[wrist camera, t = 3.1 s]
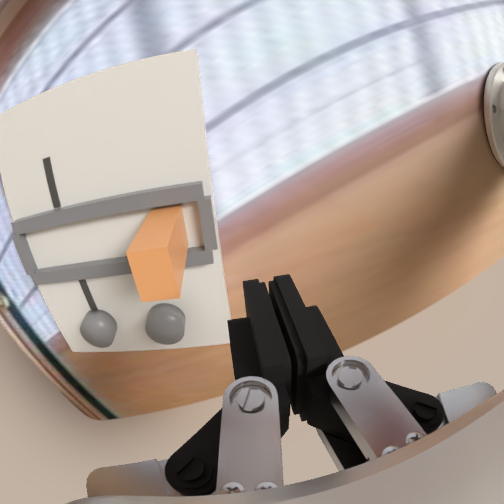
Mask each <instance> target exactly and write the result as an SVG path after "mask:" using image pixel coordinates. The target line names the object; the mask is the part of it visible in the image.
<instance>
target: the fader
mask: <svg viewBox="0 0 504 504" xmlns="http://www.w3.org/2000/svg"><path fill="white" fill-rule="evenodd" d="M188 245H189V243H188V238H187V233H186V227H185V222H184V216H183V210H182V205H181V204H180V205H174V206H167V207H161V208H154V209H151V210H150V212H149V213H148V215H147V217H146V218H145V220H144V222H143V223H142V225H141V227H140V229H139V230H138V232H137V234H136V235H135V237H134V239H133V241H132V242H131V244H130V246H129V248H128V250H127V251H126V255H127V258H128V261H129V265H130V268H131V271H132V274H133V277H134V280H135V283H136V286H137V289H138V292H139V295H140V298H141V301H142V302H150V301H160V300H170V299H179V298H180V296H181V289H182V282H183V276H184V270H185V263H186V257H187V251H188Z"/></svg>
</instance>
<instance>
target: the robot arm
mask: <svg viewBox="0 0 504 504" xmlns="http://www.w3.org/2000/svg"><path fill="white" fill-rule="evenodd" d="M484 118H485V126H486V132H487V136H488V140H489V144H490V146H491V149H492V152H493V154H494V156H495V158H496V160H497V161H498V162H499V164H500V165H501V166H502V167H504V63H498V64H496V65H495V66H493V68H492V69H491V70H490V72H489V75H488V77H487V81H486V85H485V92H484ZM243 289H244V297H245V306H246V314H247V317H246V318H239V319H232V320H227V323H228V331H229V339H230V346H231V354H232V361H233V368H234V376H235V381H234V382H233V383H231V384H230V385H229V386H228V387H227V389H226V390H225V393H224V396H223V407H222V409H221V410H220V411H219V412H218V413H216V414H215V415H214V416H213V417H212V418H211V419H210V420H209V421H208V422H207V423H206V424H205V425H204V426H203V427H202V428H201V429H200V430H199V431H198V432H197V433H196V434H195V435H194V436H192V437H191V439H189V440H188V441H187V442H186V443H185V444H184V445H183V446H182V447H180V448H179V449H178V450H177V451H176V452H175V453H174V454H173V455H172V456H171V457H170V458H169V459H166V460H162V461H157V460H156V459H154V460H149V461H144V462H138V463H132V464H126V465H118V466H111V467H102V468H98V469H96V470H94V471H92V472H91V473H90V474H89V476H88V478H87V484H86V487H87V494H88V498H83V499H78V500H74V501H72V502H69V503H66V504H504V390H503V391H501V392H499V393H496V391H495V389H494V388H493V387H492V386H491V385H490V384H488V383H485V382H479V383H475V384H472V385H468V386H465V387H461V388H458V389H454V390H450V391H446V392H442V393H439V394H438V395H437V396H436V397H434V396H431V395H429V394H426V393H422V392H419V391H416V390H412V389H409V388H406V387H403V386H400V385H396V384H393V383H390V382H387V381H384V380H383V379H382V377H381V376H380V375H379V374H378V372H377V371H376V370H375V369H374V368H373V366H372V365H371V364H370V363H369V362H367V361H366V360H364V359H362V358H360V357H355V356H345V357H344V355H343V354H342V352H341V350H340V348H339V346H338V344H337V342H336V340H335V338H334V336H333V334H332V333H331V331H330V329H329V327H328V325H327V323H326V321H325V319H324V318H323V316H322V314H321V312H320V310H319V308H318V307H317V306H310V307H305V305H304V303H303V301H302V299H301V297H300V295H299V293H298V290H297V288H296V286H295V284H294V282H293V280H292V278H291V276H290V275H289V274H287V275H281V276H274V281H269V293H268V291H267V288H266V285H265V282H262V283H259V280H258V279H254V280H248V281H243ZM290 404H291V407H292V410H293V413H294V414H295V415H296V414H300V417H301V421H306V420H307V423H308V424H309V425H311V426H313V427H315V428H316V429H317V432H318V435H319V436H320V438H321V440H322V442H323V444H324V445H325V447H326V449H327V451H328V452H329V454H330V456H331V458H332V460H333V461H334V463H335V465H336V467H337V468H338V470H339V472H336V473H333V474H330V475H326V476H323V477H319V478H316V479H311V480H307V481H303V482H299V483H295V484H290V485H285V486H284V484H283V467H282V452H281V451H282V450H281V438H282V436H283V435H284V434H285V432H286V431H287V430H288V429H289V416H290Z"/></svg>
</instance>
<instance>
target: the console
mask: <svg viewBox="0 0 504 504" xmlns="http://www.w3.org/2000/svg"><path fill="white" fill-rule="evenodd" d="M0 173H1V178H2V182H3V186H4V191H5V195H6V198H7V202H8V206H9V209H10V213H11V216H12V219H13V223H11V224H12V227H13V230H14V233H15V234H14V235H13V236H12V237H13V240H14V243H15V246H16V248H17V251H18V254H19V256H20V259H21V261H22V264H23V266H24V269H25V271H26V273H27V275H29V274H30V275H31V277H32V279H33V282H34V284H35V285H38V288H39V290H40V292H41V294H42V296H43V298H44V300H45V302H46V304H47V306H48V308H49V310H50V312H51V314H52V316H53V318H54V320H55V322H56V324H57V326H58V327H59V329H60V331H61V333H62V335H63V336H64V338H65V340H66V341H67V343H68V345H69V346H70V348H71V350H72V351H73V352H120V351H145V350H162V349H176V348H188V347H199V346H209V345H218V344H227V343H230V339H229V331H228V323H227V320H232V318H231V312H230V305H229V299H228V293H227V286H226V280H225V273H224V266H223V260H222V253H221V246H220V239H219V231H218V224H217V217H216V209H215V202H214V194H213V186H212V178H211V170H210V161H209V153H208V144H207V135H206V126H205V117H204V107H203V97H202V87H201V76H200V65H199V55H198V51H197V49H194V50H187V51H181V52H175V53H169V54H164V55H159V56H154V57H149V58H145V59H141V60H137V61H133V62H129V63H125V64H121V65H118V66H114V67H111V68H107V69H104V70H101V71H98V72H95V73H92V74H89V75H86V76H83V77H80V78H78V79H75V80H72V81H70V82H67V83H65V84H62V85H60V86H57V87H55V88H52V89H50V90H48V91H46V92H43V93H41V94H39V95H37V96H35V97H33V98H31V99H29V100H26V101H24V102H22V103H21V104H19V105H17V106H15V107H13V108H11V109H9V110H7V111H6V112H4V113H2V114H0ZM180 204H181V205H182V210H183V216H184V222H185V227H186V233H187V238H188V243H189V245H188V251H187V257H186V263H185V270H184V276H183V282H182V289H181V296H180V298H179V299H170V300H160V301H150V302H142V301H141V298H140V295H139V292H138V289H137V286H136V283H135V280H134V277H133V274H132V271H131V268H130V265H129V261H128V258H127V255H126V251H127V250H128V248H129V246H130V244H131V242H132V241H133V239H134V237H135V235H136V234H137V232H138V230H139V229H140V227H141V225H142V223H143V222H144V220H145V218H146V217H147V215H148V213H149V212H150V210H151V209H154V208H161V207H167V206H174V205H180Z"/></svg>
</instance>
